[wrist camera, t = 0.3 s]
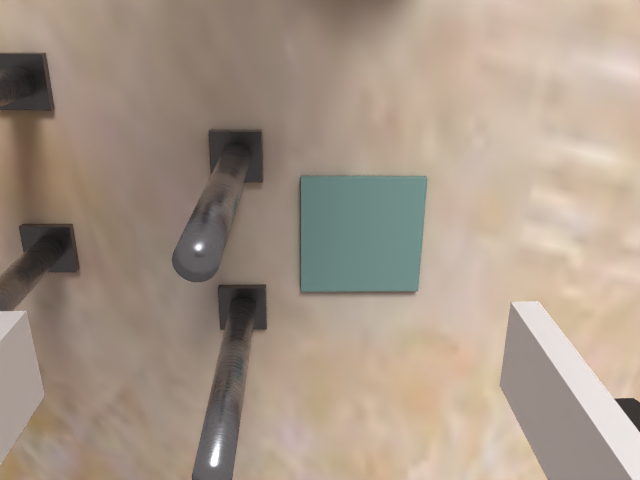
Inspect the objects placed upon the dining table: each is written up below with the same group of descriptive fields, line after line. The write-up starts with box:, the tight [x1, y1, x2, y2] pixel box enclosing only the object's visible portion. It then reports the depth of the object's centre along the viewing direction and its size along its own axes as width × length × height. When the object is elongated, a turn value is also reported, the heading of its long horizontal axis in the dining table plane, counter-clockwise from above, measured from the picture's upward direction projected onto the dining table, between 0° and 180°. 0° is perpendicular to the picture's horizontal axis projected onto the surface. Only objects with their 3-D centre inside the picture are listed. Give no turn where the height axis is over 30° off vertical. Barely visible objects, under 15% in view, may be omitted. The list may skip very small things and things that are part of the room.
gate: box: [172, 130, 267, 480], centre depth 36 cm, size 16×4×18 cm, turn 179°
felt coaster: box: [301, 176, 427, 292], centre depth 44 cm, size 9×9×1 cm
